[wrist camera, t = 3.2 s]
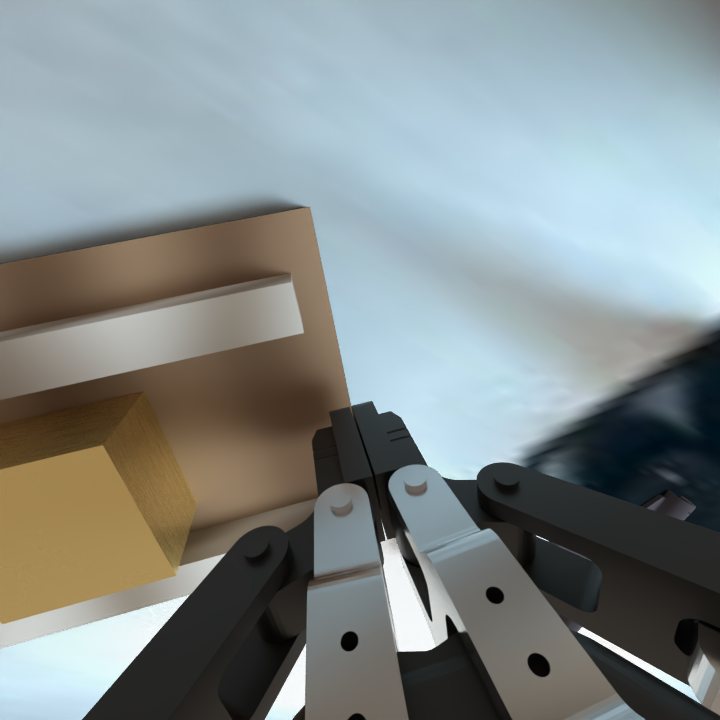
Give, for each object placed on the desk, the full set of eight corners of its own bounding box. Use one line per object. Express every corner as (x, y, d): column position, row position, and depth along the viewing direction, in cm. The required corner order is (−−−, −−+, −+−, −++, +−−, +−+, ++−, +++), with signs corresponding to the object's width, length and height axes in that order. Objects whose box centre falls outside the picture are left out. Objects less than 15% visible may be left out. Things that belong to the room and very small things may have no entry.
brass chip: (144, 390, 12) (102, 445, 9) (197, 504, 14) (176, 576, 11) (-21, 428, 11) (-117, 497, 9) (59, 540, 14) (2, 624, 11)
